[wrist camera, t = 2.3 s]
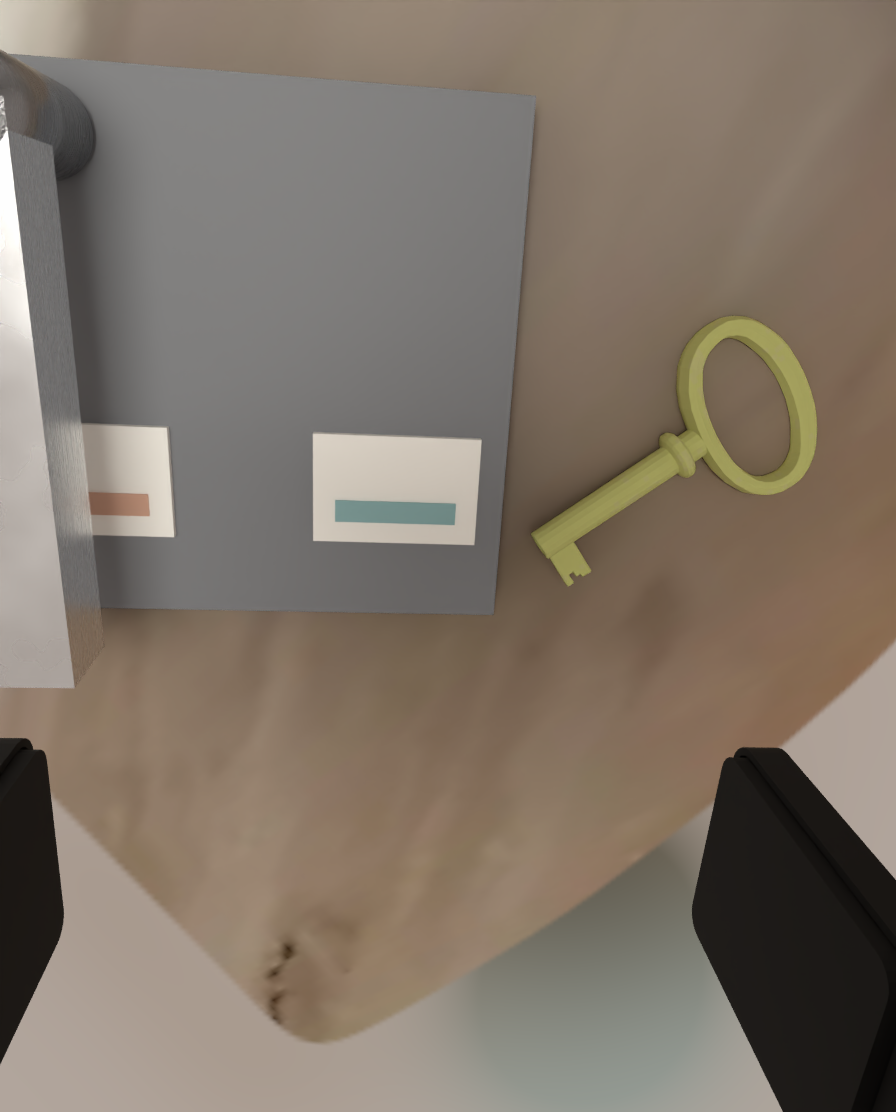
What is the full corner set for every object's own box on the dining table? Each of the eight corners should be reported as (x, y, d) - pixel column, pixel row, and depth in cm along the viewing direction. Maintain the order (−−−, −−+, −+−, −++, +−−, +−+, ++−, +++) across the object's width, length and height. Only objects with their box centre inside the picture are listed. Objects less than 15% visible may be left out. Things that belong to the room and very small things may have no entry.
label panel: (528, 104, 26) (538, 93, 25) (488, 599, 33) (494, 619, 31) (-107, 54, 25) (-145, 38, 23) (-22, 589, 31) (-46, 609, 29)
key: (512, 535, 32) (521, 553, 30) (727, 289, 30) (752, 291, 28) (635, 632, 34) (652, 654, 32) (847, 410, 32) (879, 420, 30)
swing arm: (88, 80, 24) (3, 27, 18) (135, 611, 30) (81, 688, 24) (-9, 73, 23) (-124, 17, 18) (57, 610, 29) (-15, 687, 24)
